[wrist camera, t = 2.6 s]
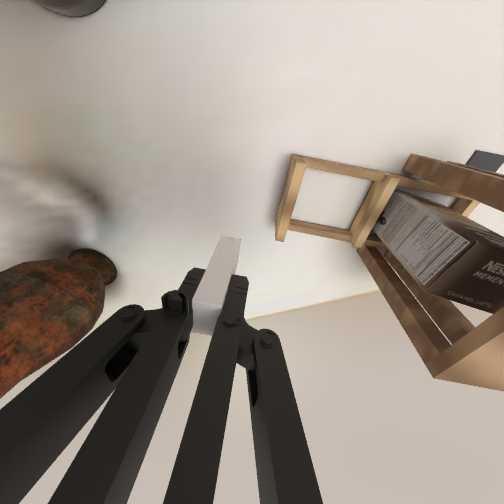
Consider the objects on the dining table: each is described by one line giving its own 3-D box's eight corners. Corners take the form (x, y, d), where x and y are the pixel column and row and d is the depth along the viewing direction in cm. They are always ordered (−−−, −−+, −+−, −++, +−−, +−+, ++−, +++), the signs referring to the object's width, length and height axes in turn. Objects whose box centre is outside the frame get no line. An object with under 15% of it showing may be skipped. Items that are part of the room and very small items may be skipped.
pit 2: (476, 150, 26) (478, 150, 26) (506, 156, 26) (508, 156, 26) (453, 181, 28) (455, 181, 28) (481, 186, 28) (482, 187, 28)
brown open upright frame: (411, 154, 27) (664, 224, 9) (462, 164, 27) (806, 252, 9) (356, 250, 36) (433, 378, 18) (394, 258, 36) (506, 391, 19)
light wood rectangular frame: (292, 153, 28) (296, 162, 23) (474, 189, 28) (516, 205, 23) (275, 222, 34) (275, 240, 29) (425, 251, 34) (450, 274, 29)
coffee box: (444, 203, 30) (577, 272, 17) (413, 238, 34) (502, 317, 20) (388, 185, 29) (481, 241, 16) (362, 222, 33) (421, 294, 20)
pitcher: (146, 278, 45) (-9, 474, 20) (94, 306, 53) (-65, 472, 28) (80, 219, 38) (-282, 413, 13) (31, 261, 46) (-256, 432, 21)
